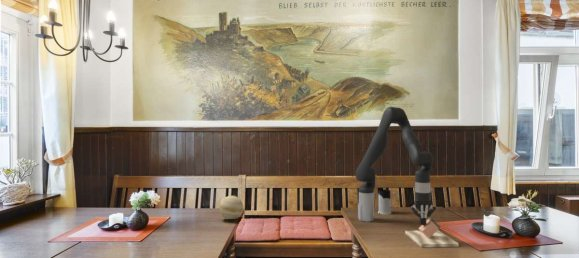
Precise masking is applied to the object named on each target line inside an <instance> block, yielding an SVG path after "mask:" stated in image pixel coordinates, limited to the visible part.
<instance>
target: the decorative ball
mask: <svg viewBox="0 0 579 258" xmlns="http://www.w3.org/2000/svg"><path fill="white" fill-rule="evenodd" d="M243 211H244V204H243V201H242V199H241V198H239V197H238V196H236V195H228V196H226V197H224V198H223V199H222V200H221V202H220V204H219V213H220V215H221V217H223V218H224V219H225V220H228V219H234V220H236V219H238V218H239V217H241V215H242V213H243Z"/></svg>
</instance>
